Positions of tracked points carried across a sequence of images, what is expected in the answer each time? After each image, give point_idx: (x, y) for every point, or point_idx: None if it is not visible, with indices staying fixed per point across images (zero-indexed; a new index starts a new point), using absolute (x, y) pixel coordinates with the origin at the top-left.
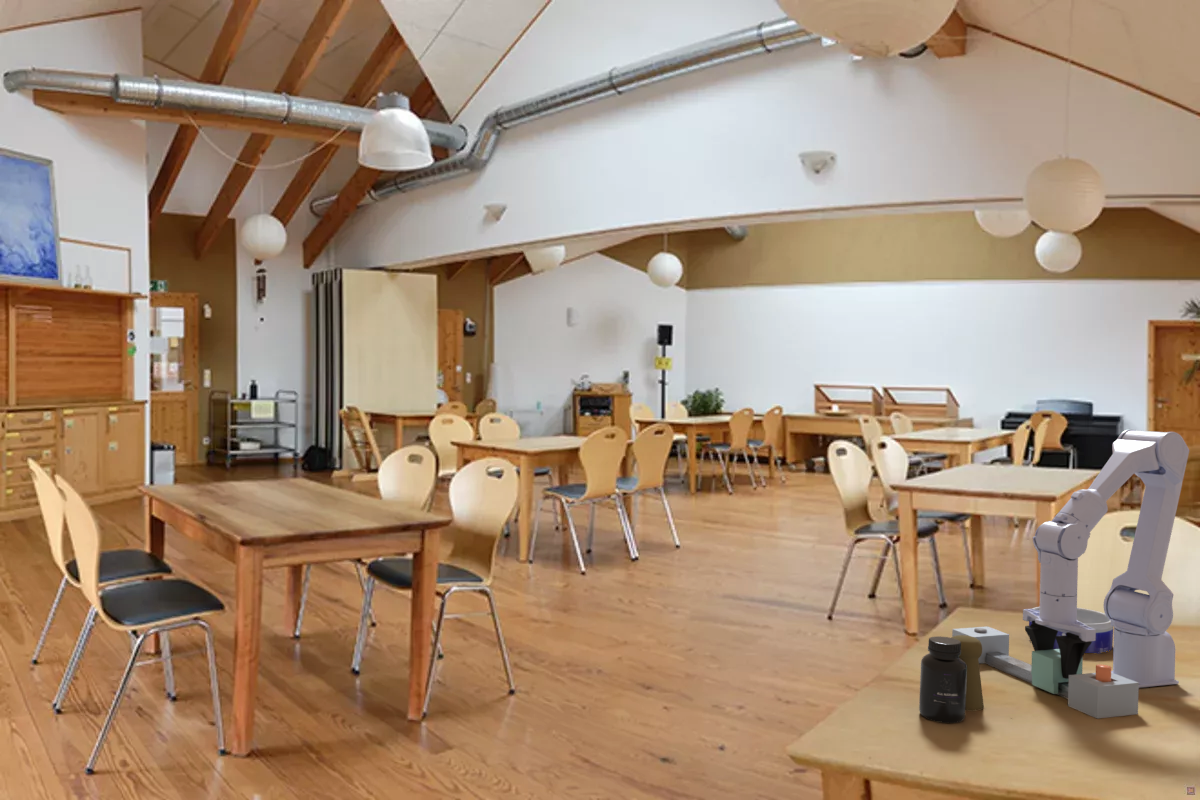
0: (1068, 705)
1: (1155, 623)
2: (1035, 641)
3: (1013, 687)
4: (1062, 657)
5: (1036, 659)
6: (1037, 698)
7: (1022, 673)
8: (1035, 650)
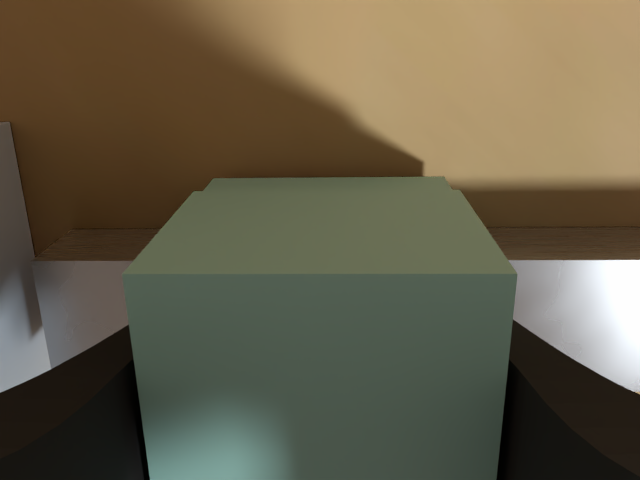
0: (2, 122)
1: None
2: (581, 418)
3: (483, 17)
4: (80, 379)
5: (414, 243)
6: (199, 16)
7: (630, 243)
8: (559, 364)
